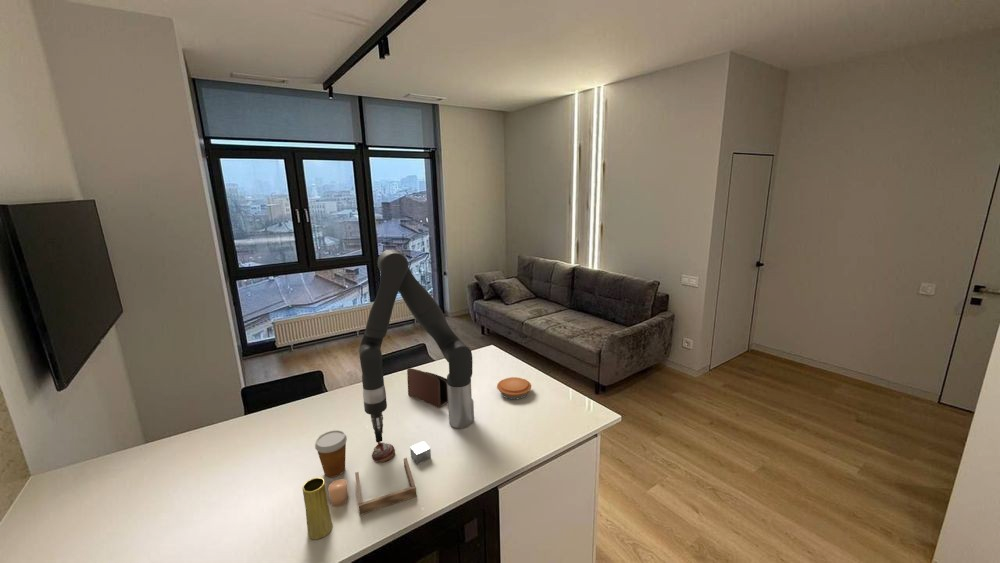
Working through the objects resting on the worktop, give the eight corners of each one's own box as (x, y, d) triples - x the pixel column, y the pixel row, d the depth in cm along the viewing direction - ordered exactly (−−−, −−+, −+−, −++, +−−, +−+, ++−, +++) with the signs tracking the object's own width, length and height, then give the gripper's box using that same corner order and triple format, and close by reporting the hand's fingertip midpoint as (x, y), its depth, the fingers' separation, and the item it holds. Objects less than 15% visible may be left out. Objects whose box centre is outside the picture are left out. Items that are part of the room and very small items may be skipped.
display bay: (407, 465, 125) (406, 457, 124) (416, 496, 112) (415, 487, 111) (356, 480, 119) (355, 472, 118) (359, 515, 106) (358, 506, 105)
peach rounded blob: (348, 491, 114) (346, 477, 113) (349, 503, 110) (347, 488, 109) (330, 496, 112) (328, 482, 111) (330, 509, 108) (328, 494, 107)
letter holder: (439, 409, 158) (438, 378, 155) (407, 395, 169) (405, 366, 166) (455, 398, 166) (454, 369, 163) (424, 386, 177) (422, 358, 174)
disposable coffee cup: (339, 483, 118) (334, 449, 115) (312, 479, 120) (307, 445, 117) (356, 462, 127) (352, 430, 124) (331, 459, 129) (326, 427, 126)
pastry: (368, 455, 130) (366, 442, 129) (387, 445, 136) (386, 433, 135) (379, 466, 125) (378, 453, 124) (399, 455, 130) (398, 442, 129)
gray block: (424, 451, 132) (423, 441, 131) (431, 458, 128) (430, 448, 127) (411, 457, 129) (410, 447, 128) (417, 465, 125) (416, 454, 124)
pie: (532, 401, 162) (532, 391, 161) (496, 402, 163) (496, 391, 161) (530, 384, 177) (530, 374, 176) (497, 384, 178) (497, 375, 177)
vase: (313, 521, 104) (306, 476, 101) (336, 519, 104) (329, 475, 101) (303, 540, 98) (296, 494, 95) (328, 538, 98) (321, 492, 95)
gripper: (388, 403, 127) (392, 448, 131) (383, 386, 139) (387, 428, 143) (365, 409, 124) (369, 454, 128) (362, 390, 136) (366, 433, 140)
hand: (379, 440), depth 136 cm, fingers closed
